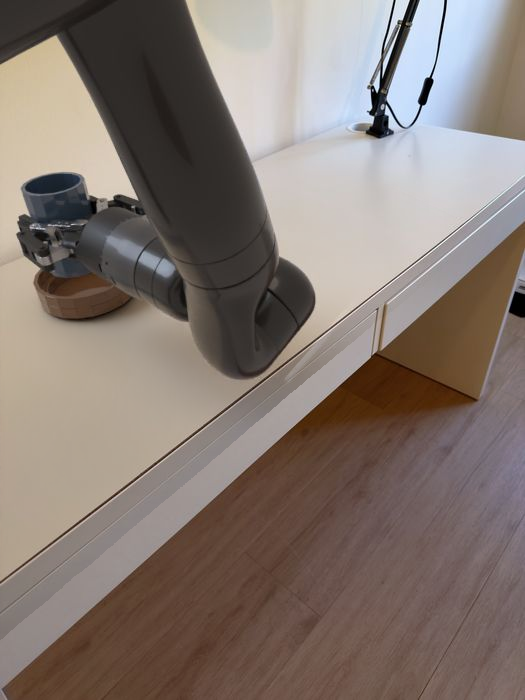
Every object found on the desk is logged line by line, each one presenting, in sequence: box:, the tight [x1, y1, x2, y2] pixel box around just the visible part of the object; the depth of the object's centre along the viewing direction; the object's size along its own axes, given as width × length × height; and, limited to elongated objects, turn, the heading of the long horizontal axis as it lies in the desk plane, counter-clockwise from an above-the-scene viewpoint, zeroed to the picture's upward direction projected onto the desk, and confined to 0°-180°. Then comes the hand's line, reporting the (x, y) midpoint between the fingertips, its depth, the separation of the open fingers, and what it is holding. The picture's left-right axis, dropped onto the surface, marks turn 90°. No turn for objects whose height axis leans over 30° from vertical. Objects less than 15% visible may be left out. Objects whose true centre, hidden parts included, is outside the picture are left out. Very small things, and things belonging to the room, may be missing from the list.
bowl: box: [32, 268, 133, 320], centre depth 79 cm, size 14×14×4 cm
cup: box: [20, 171, 94, 277], centre depth 61 cm, size 7×7×10 cm
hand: (53, 212), depth 61 cm, fingers closed on cup, 7 cm apart
